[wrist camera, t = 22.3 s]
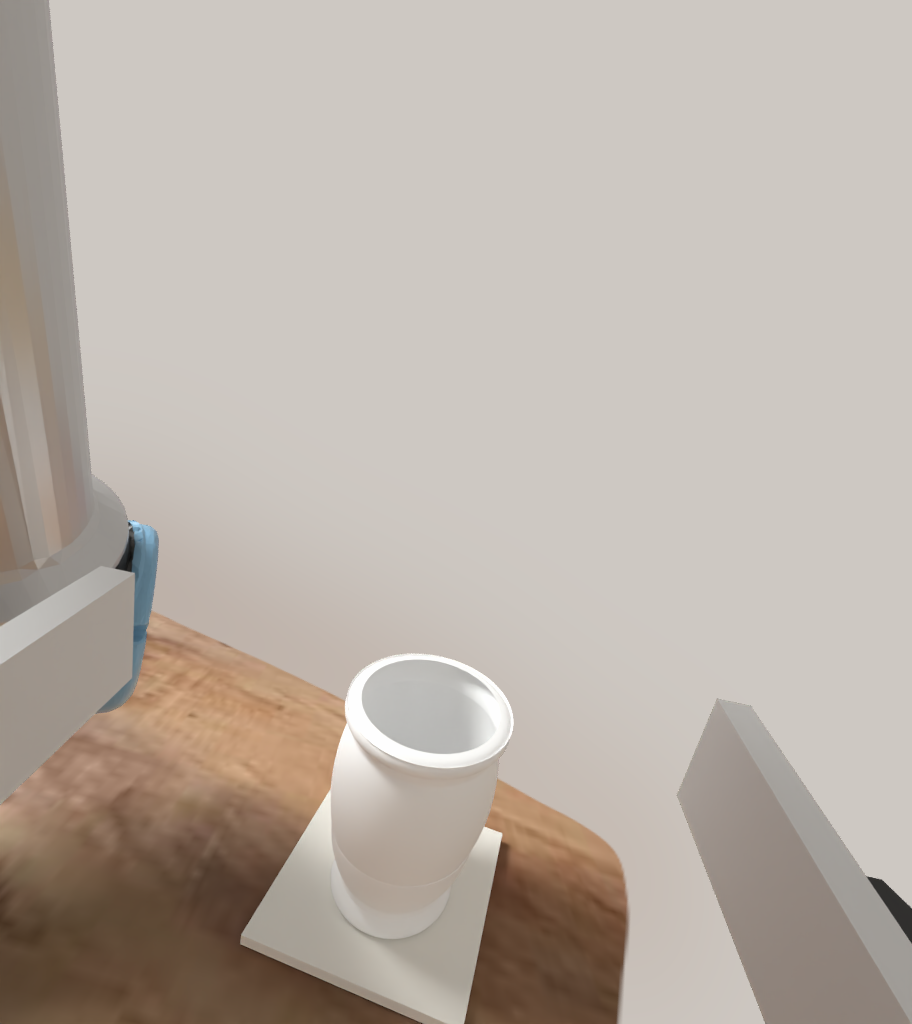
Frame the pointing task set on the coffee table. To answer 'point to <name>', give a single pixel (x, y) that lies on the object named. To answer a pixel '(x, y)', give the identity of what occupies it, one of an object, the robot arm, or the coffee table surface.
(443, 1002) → the ceramic tile
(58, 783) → the coffee table surface
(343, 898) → the jar
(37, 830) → the coffee table surface
